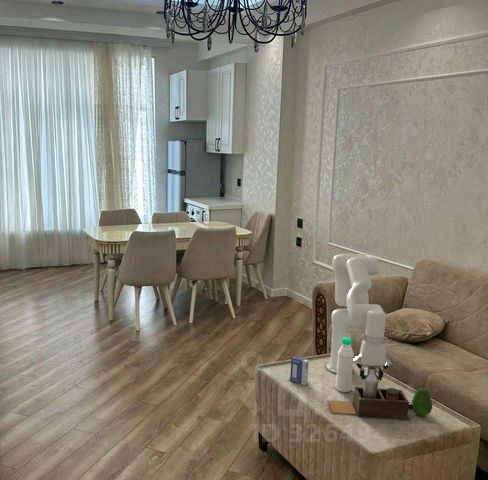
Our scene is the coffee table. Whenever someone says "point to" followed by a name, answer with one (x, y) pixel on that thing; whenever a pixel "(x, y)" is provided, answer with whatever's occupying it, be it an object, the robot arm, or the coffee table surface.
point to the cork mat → (342, 407)
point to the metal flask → (370, 383)
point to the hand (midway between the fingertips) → (370, 378)
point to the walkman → (299, 370)
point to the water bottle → (344, 366)
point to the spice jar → (392, 394)
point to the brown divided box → (380, 405)
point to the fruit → (422, 402)
